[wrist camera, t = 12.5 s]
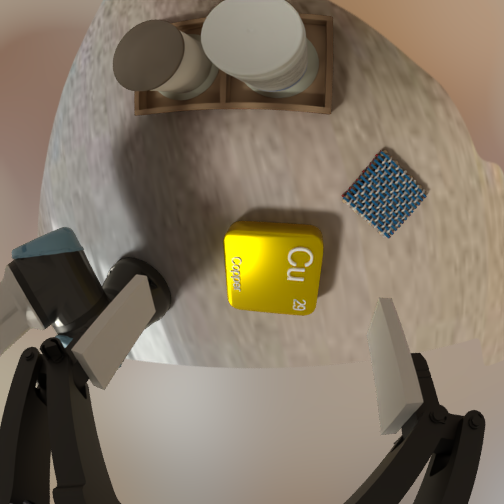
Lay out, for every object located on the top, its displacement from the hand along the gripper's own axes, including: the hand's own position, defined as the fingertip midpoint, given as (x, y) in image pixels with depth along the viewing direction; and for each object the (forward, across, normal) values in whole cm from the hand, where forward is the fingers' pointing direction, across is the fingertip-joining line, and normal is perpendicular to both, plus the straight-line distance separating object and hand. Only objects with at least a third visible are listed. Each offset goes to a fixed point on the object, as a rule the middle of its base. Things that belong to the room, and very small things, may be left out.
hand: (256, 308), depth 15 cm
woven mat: (+28, +15, 0) cm, 32 cm away
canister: (+27, -15, +19) cm, 37 cm away
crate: (+28, -8, +19) cm, 35 cm away
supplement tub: (+27, -2, +18) cm, 33 cm away
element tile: (+29, -2, -14) cm, 32 cm away
